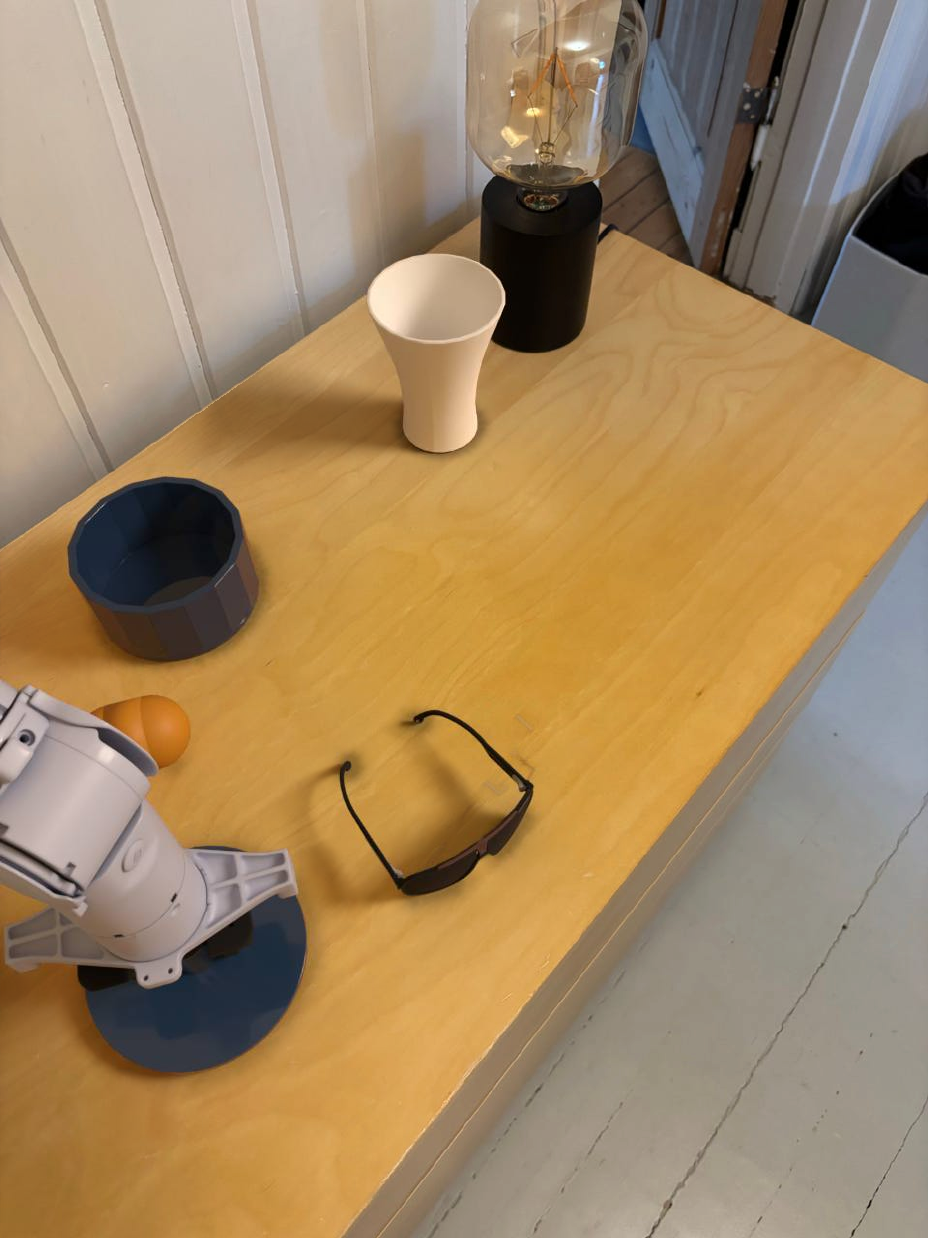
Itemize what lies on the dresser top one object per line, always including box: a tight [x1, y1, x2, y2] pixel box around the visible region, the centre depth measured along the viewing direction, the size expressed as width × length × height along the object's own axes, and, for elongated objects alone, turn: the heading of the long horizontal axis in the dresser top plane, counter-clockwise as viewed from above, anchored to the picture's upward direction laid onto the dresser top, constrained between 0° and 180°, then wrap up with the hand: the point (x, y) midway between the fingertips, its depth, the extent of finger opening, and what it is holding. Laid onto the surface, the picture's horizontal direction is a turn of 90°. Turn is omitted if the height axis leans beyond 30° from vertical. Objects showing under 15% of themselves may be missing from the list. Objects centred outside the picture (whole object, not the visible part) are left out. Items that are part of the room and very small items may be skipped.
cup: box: [365, 253, 506, 453], centre depth 76 cm, size 10×10×14 cm
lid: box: [84, 845, 308, 1075], centre depth 55 cm, size 13×13×4 cm
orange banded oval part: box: [89, 694, 192, 770], centre depth 62 cm, size 7×5×5 cm
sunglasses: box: [339, 709, 535, 897], centre depth 61 cm, size 11×12×5 cm
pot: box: [66, 475, 260, 663], centre depth 69 cm, size 12×12×6 cm
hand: (193, 949), depth 56 cm, fingers open, 4 cm apart
